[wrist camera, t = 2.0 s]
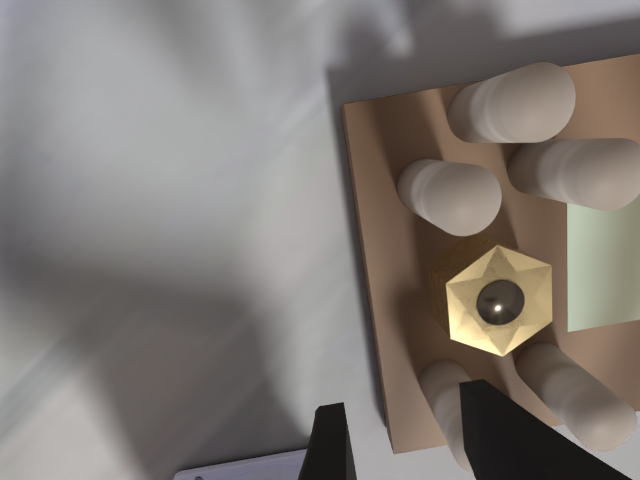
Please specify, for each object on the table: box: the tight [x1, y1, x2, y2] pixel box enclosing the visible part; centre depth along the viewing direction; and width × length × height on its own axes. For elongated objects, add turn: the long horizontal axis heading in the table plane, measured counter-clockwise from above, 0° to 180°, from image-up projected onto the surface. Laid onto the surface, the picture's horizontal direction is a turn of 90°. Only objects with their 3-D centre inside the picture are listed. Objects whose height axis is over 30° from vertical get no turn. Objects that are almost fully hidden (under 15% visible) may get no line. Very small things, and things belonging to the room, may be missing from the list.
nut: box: [427, 234, 552, 356], centre depth 17 cm, size 4×5×2 cm
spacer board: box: [341, 54, 640, 472], centre depth 17 cm, size 15×18×6 cm
